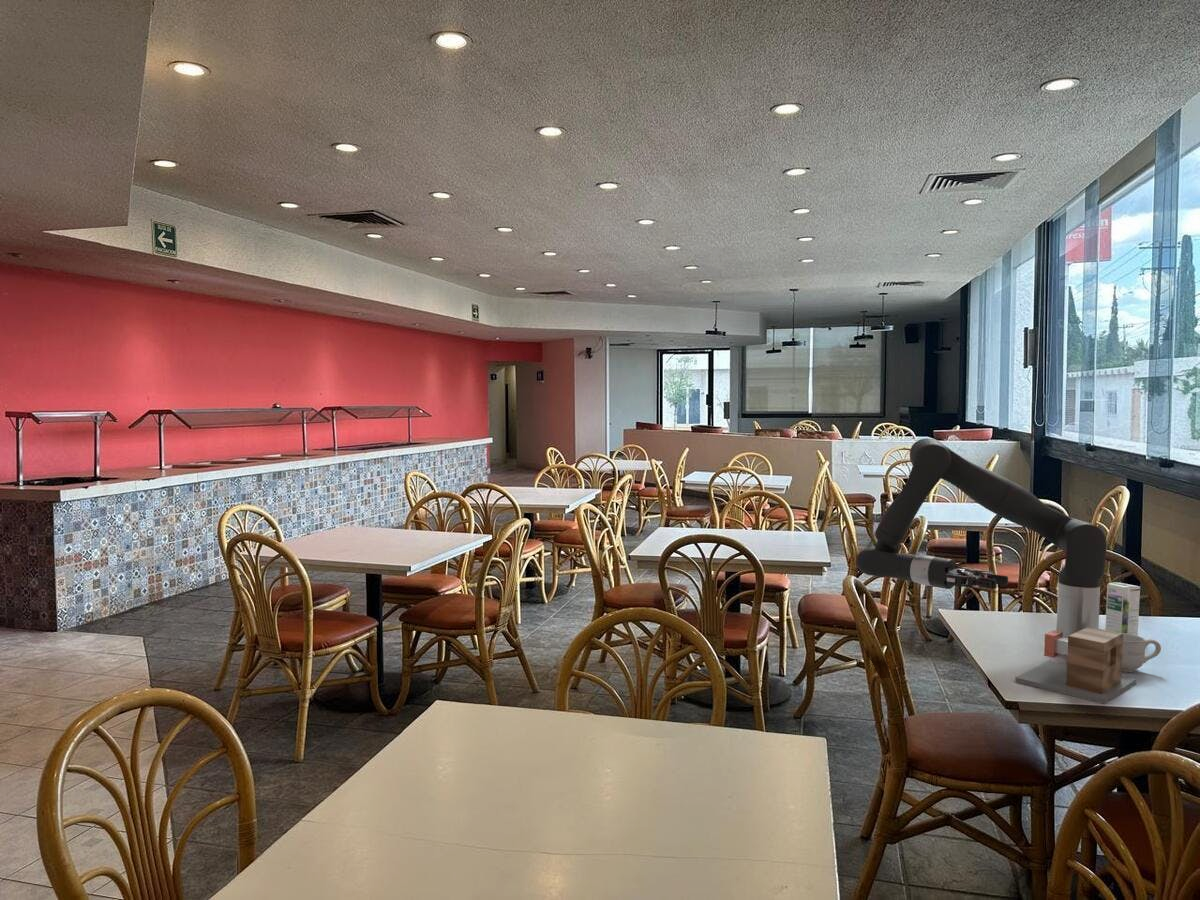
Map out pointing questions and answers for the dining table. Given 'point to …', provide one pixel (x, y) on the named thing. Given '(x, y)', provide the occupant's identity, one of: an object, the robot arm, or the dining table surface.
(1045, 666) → the base mat
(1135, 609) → the syrup box
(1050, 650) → the red headed square peg
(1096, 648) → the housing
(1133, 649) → the teacup
